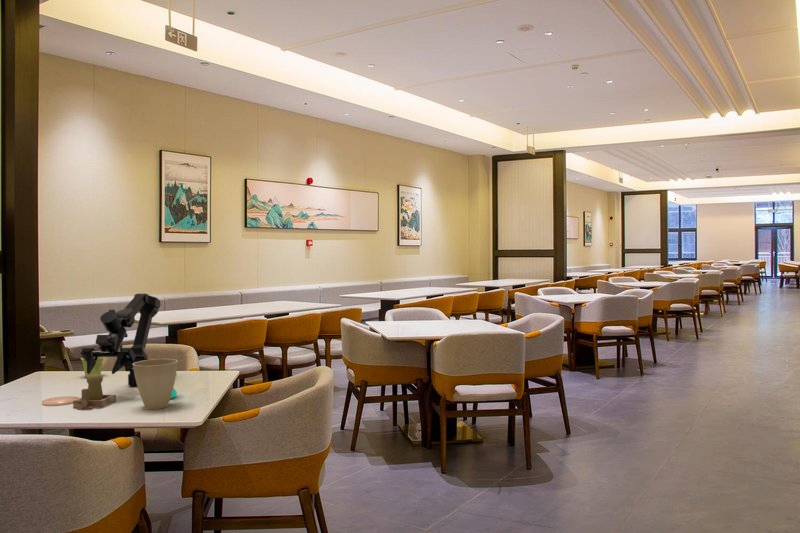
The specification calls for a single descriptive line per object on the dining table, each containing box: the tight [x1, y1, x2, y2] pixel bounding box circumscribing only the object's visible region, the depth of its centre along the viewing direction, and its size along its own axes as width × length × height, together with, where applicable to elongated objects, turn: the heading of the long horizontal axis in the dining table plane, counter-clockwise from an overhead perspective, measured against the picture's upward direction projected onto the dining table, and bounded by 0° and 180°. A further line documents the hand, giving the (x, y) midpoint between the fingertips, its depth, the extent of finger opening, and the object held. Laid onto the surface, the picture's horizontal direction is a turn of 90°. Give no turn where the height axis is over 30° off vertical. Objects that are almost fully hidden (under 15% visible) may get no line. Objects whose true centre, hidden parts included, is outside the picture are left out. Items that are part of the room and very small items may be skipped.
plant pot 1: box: [80, 357, 105, 379], centre depth 279 cm, size 9×9×9 cm
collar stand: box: [72, 388, 117, 411], centre depth 224 cm, size 12×10×7 cm
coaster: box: [41, 395, 80, 407], centre depth 230 cm, size 12×12×1 cm
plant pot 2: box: [133, 358, 179, 410], centre depth 222 cm, size 15×15×16 cm
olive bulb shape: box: [86, 374, 104, 400], centre depth 225 cm, size 6×6×11 cm
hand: (100, 373), depth 229 cm, fingers open, 9 cm apart
